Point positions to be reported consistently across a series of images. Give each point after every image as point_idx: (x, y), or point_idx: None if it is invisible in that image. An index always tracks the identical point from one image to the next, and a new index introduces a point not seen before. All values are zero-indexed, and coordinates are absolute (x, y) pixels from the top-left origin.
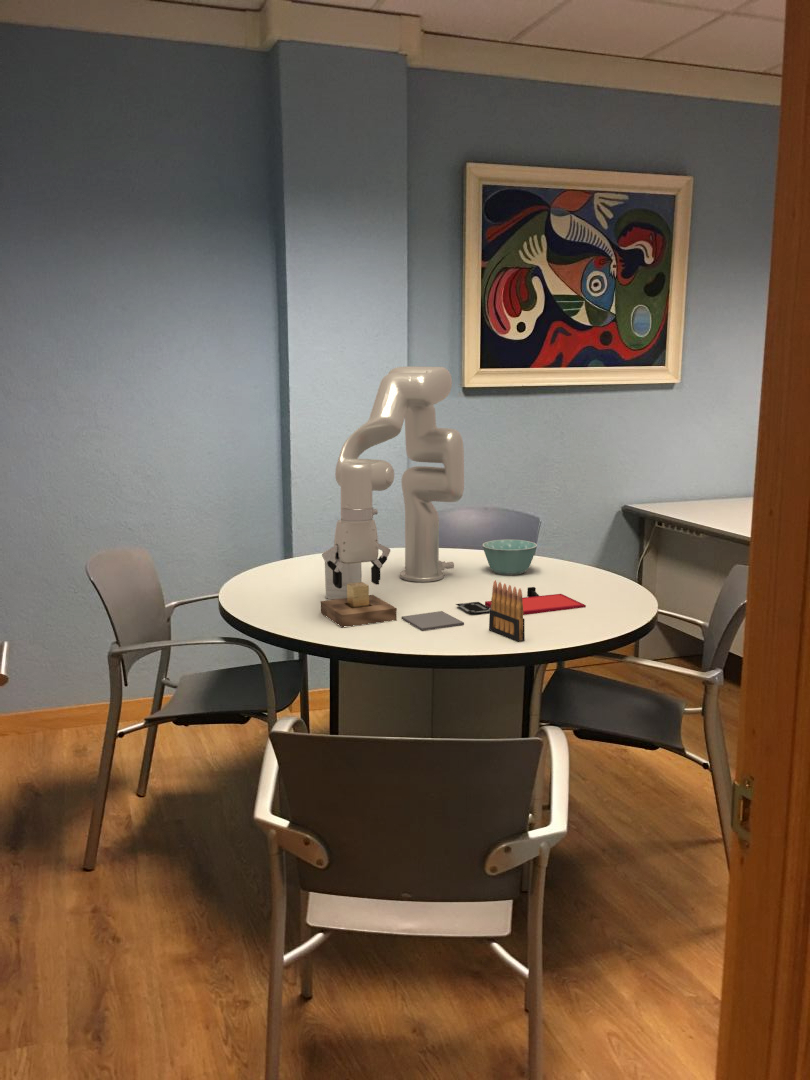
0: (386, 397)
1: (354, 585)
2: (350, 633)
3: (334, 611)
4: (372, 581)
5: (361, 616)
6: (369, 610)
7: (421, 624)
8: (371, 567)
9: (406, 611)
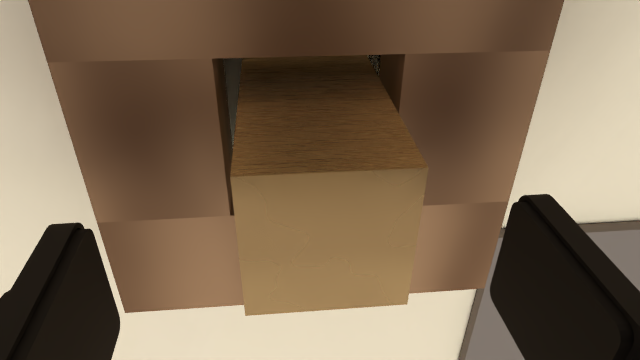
0: None
1: (283, 264)
2: (163, 332)
3: (96, 207)
4: (511, 232)
5: None
6: None
7: (489, 353)
8: (619, 333)
9: (619, 114)
